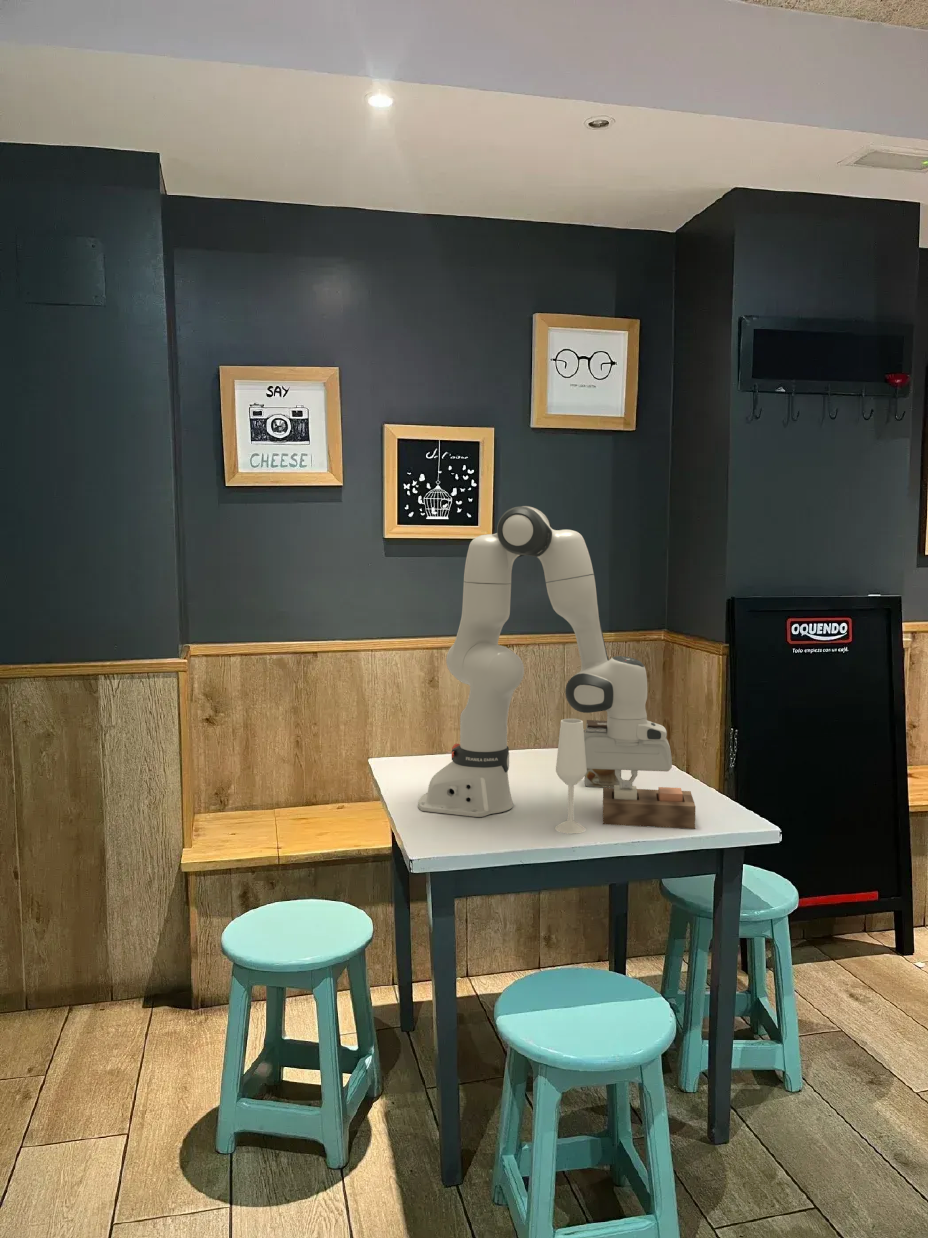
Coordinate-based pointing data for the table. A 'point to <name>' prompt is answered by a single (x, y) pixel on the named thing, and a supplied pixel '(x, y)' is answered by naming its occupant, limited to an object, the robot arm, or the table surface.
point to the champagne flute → (571, 766)
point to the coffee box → (600, 775)
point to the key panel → (648, 810)
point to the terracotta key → (670, 794)
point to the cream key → (625, 793)
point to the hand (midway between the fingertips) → (625, 788)
